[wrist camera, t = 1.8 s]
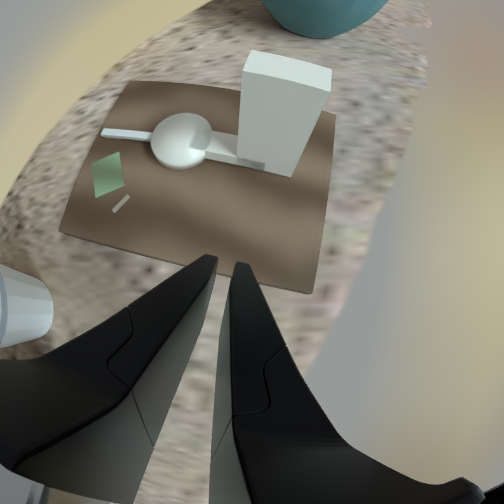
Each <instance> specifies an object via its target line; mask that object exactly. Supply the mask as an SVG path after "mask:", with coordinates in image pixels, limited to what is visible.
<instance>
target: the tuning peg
mask: <svg viewBox="0 0 504 504" xmlns="http://www.w3.org/2000/svg"><path fill="white" fill-rule="evenodd" d="M331 76H332V69H329V68H325V67H322V66H319V65H315V64H312V63H308V62H304V61H301V60H297V59H293V58H289V57H284V56H280V55H275V54H270V53H265V52H260V51H254V50H251V52H250V54H249V56H248V59H247V61H246V63H245V66H244V68H243V71H242V83H241V97H240V112H239V128H238V135H233V134H228V133H222V132H217V131H212V128H211V126H210V124H209V122H208V121H207V120H206V119H205V118H203V117H202V116H199V115H197V114H193V113H179V114H175V115H172V116H170V117H168V118H166V119H164V120H163V121H162V122H160V123H159V124H158V125H157V127H156V128H155V129H154V131H153V133H151V132H142V131H132V130H121V129H108V128H104V129H103V131H102V133H101V136H102V137H111V138H122V139H132V140H140V141H149V142H151V147H152V150H153V152H154V154H155V157H156V159H157V160H158V162H159V163H160V164H162V165H163V166H165V167H167V168H169V169H173V170H185V169H189V168H192V167H194V166H197V165H198V164H200V163H201V162H203V161H204V160H205V159H211V160H216V161H221V162H226V163H231V164H236V165H240V166H245V167H249V168H254V169H258V170H263V171H267V172H271V173H275V174H279V175H283V176H287V177H291V176H292V174H293V172H294V169H295V167H296V165H297V163H298V161H299V159H300V157H301V154H302V152H303V150H304V148H305V146H306V144H307V141H308V139H309V137H310V135H311V133H312V131H313V129H314V126H315V124H316V122H317V120H318V118H319V116H320V113H321V111H322V109H323V107H324V105H325V103H326V100H327V98H328V96H329V94H330V90H331Z"/></svg>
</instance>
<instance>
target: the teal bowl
mask: <svg viewBox="0 0 504 504" xmlns="http://www.w3.org/2000/svg"><path fill="white" fill-rule="evenodd" d="M387 1H388V0H262V2H263V3H264V5H265V6H266V8H267V9H268V10H269V12H270V13H271V14H272V16H273V17H274V18H275V19H276V20H277V22H278V23H279V24H281V25H282V26H283V27H284V28H286V29H287V30H289V31H291V32H293V33H296V34H299V35H302V36H306V37H311V38H330V37H334V36H337V35H340V34H342V33H345V32H347V31H350V30H352V29H354V28H356V27H358V26H359V25H361V24H363V23H364V22H366V21H367V20H369V19H370V18H371V17H372V16H374V15H375V14H376V13H377V12H378V11H379V10H380V9H381V8H382V7H383V6H384V5H385V4H386V3H387Z"/></svg>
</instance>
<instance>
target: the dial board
mask: <svg viewBox="0 0 504 504" xmlns="http://www.w3.org/2000/svg"><path fill="white" fill-rule="evenodd" d="M240 97H241V91H237V90H231V89H225V88H218V87H211V86H203V85H195V84H185V83H172V82H156V81H129V83H128V84H127V86H126V87H125V89H124V91H123V92H122V94H121V95H120V97H119V99H118V100H117V102H116V104H115V105H114V107H113V109H112V110H111V112H110V114H109V116H108V117H107V119H106V121H105V123H104V125H103V126H102V128H101V130H100V132H99V134H98V136H97V138H96V140H95V142H94V144H93V146H92V148H91V150H90V152H89V154H88V156H87V158H86V160H85V163H84V165H83V167H82V169H81V172H80V174H79V176H78V179H77V181H76V184H75V186H74V188H73V191H72V194H71V196H70V199H69V201H68V204H67V207H66V210H65V213H64V216H63V218H62V221H61V225H60V228H59V231H60V232H62V233H64V234H66V235H69V236H73V237H76V238H80V239H83V240H87V241H90V242H94V243H98V244H101V245H105V246H109V247H112V248H116V249H120V250H123V251H127V252H131V253H135V254H138V255H142V256H146V257H150V258H154V259H158V260H162V261H166V262H169V263H173V264H177V265H181V266H185V267H186V266H187V265H189V264H190V263H192V262H193V261H195V260H196V259H198V258H199V257H201V256H202V255H204V254H210V255H214V256H217V257H218V265H217V271H216V274H219V275H223V276H227V277H231V278H232V274H233V270H234V266H235V263H236V262H237V261H239V262H244V263H248V264H250V266H251V268H252V270H253V273H254V275H255V277H256V279H257V282H258V284H262V285H267V286H271V287H276V288H280V289H285V290H290V291H294V292H299V293H304V294H312V293H313V288H314V282H315V277H316V271H317V266H318V260H319V254H320V248H321V241H322V235H323V228H324V221H325V214H326V207H327V199H328V191H329V183H330V174H331V165H332V155H333V144H334V133H335V120H336V115H334V114H331V113H328V112H325V111H321V113H320V116H319V118H318V120H317V122H316V124H315V126H314V129H313V131H312V133H311V135H310V137H309V139H308V141H307V144H306V146H305V148H304V150H303V152H302V154H301V157H300V159H299V161H298V163H297V165H296V167H295V169H294V172H293V174H292V176H291V177H287V176H283V175H279V174H275V173H271V172H267V171H263V170H258V169H254V168H249V167H245V166H240V165H236V164H231V163H226V162H221V161H216V160H211V159H205V160H204V161H203V162H201V163H200V164H198V165H197V166H194V167H192V168H189V169H185V170H173V169H169V168H167V167H165V166H163V165H162V164H160V163H159V162H158V160H157V159H156V157H155V154H154V152H153V150H152V147H151V142H149V141H140V140H132V139H122V138H111V137H102V136H101V133H102V131H103V129H104V128H108V129H121V130H132V131H142V132H151V133H153V131H154V129H155V128H156V127H157V125H158V124H159V123H160V122H162V121H163V120H164V119H166V118H168V117H170V116H172V115H175V114H179V113H193V114H197V115H199V116H202V117H203V118H205V119H206V120H207V121H208V122H209V124H210V126H211V128H212V131H217V132H222V133H228V134H233V135H238V128H239V112H240Z"/></svg>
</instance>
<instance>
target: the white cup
mask: <svg viewBox="0 0 504 504" xmlns="http://www.w3.org/2000/svg"><path fill="white" fill-rule="evenodd" d="M53 314H54V313H53V301H52V298H51V295H50V292H49V290H48V288H47V287H46V285H45V284H44V283H43V282H42V281H40V280H38V279H37V278H34V277H32V276H29V275H26V274H24V273H21V272H19V271H16V270H14V269H11V268H9V267H7V266H4V265H2V264H0V348H4V347H7V346H11V345H15V344H19V343H22V342H26V341H30V340H33V339H37V338H40V337H41V336H43V335H45V334H46V333H47V331H48V330H49V328H50V326H51V324H52V319H53Z"/></svg>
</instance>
